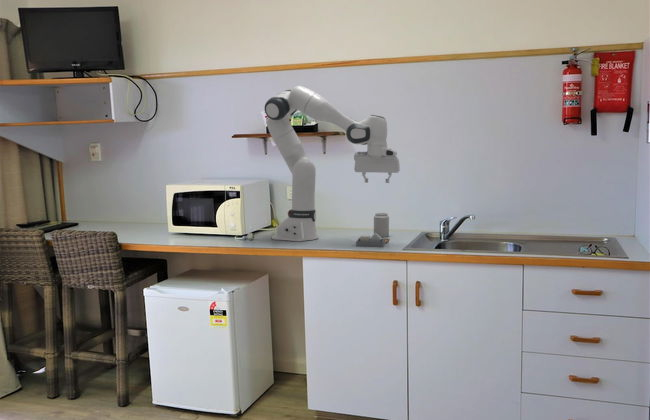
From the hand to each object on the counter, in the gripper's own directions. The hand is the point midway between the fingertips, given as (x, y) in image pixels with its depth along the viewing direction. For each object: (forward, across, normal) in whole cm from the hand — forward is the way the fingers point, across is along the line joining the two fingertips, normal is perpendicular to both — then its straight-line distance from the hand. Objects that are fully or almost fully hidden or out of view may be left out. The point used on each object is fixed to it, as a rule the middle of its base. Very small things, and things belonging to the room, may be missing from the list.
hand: (376, 182), depth 279 cm
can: (+29, 0, +26) cm, 39 cm away
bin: (+29, -2, 0) cm, 29 cm away
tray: (+29, -2, +12) cm, 31 cm away
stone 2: (+27, +1, 0) cm, 27 cm away
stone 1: (+29, -5, 0) cm, 29 cm away
